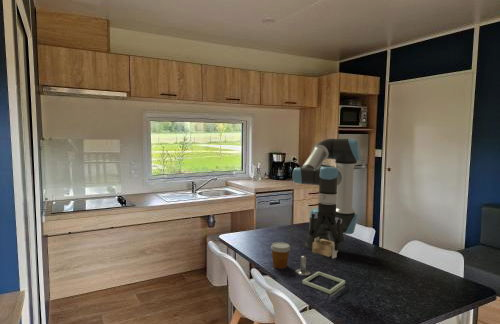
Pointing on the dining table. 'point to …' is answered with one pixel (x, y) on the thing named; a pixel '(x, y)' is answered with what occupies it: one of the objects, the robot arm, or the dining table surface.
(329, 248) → the wooden square frame
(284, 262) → the disposable coffee cup
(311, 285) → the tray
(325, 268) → the dining table surface
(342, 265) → the dining table surface
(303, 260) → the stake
